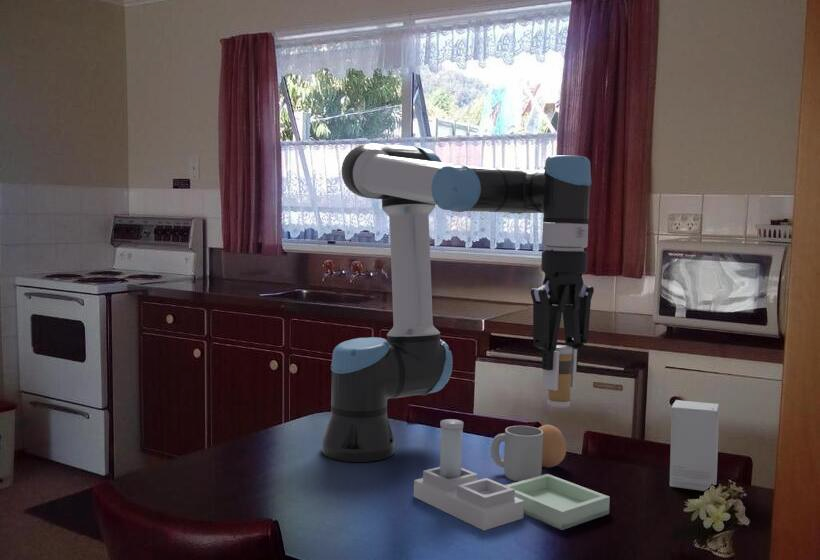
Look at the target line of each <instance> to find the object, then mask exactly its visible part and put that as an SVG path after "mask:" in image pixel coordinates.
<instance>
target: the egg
mask: <svg viewBox="0 0 820 560" xmlns="http://www.w3.org/2000/svg"><path fill="white" fill-rule="evenodd" d="M537 428H538V429H541V430H542V431H543V447H542V467H543V468H547V469H549V468H553V467H556V466H558V465H559V464H560V463H561V462H563V460H564V459H565V457H566V453H567V443H566V439H565V437H564V435H563V433H562V431H561V430H560V429H559V428H557V427H556V426H554V425H551V424H543V425H541V426H539V427H537Z"/></svg>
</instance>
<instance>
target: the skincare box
mask: <svg viewBox="0 0 820 560" xmlns="http://www.w3.org/2000/svg"><path fill="white" fill-rule="evenodd" d="M719 407H720V404H719V403H715V402H714V403H711V402H700V401H690V400H689V401H688V400H680V399H675V401H674V402H673V404H672V406H671V413H670V414H671V416H670V417H671V418H670V419H671V420H670V451H669V453H670V454H669V455H670V456H669V457H670V458H669V462H670V463H669V487H672V488H679V489H686V490H692V491H694V490H695V491H700V492H706V491H705V490H706V489H708V488H709V486H710V485H711V484H713V485H716V486H717V481H718V454H719V451H718V450H719V420H720V419H719V418H720V415H719V414H720V408H719Z"/></svg>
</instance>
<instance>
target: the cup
mask: <svg viewBox="0 0 820 560" xmlns="http://www.w3.org/2000/svg"><path fill="white" fill-rule="evenodd" d="M538 428H539V427H534V426H529V425H513V426H507V427H506V428H505V429H504V430H505V431H504V432H503V433H498V434H497V435H495V436H494V437H493V439H492V441H491V444H490V455H491V458H492V461H493V463H495V465H496V466H498V467H500V468H503V474H504V477H506V478H507V479H508V480H510V481H515V482H519V481H523V480H526V479H530V478H534V477H537V476H541V475H542V469H543V468H542V447H543V431H542V430H541V429H538ZM502 442H504V454H503V455H504V457H503V458H501V456H500V445H501V443H502Z"/></svg>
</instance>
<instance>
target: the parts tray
mask: <svg viewBox="0 0 820 560" xmlns="http://www.w3.org/2000/svg"><path fill="white" fill-rule="evenodd" d="M504 485H505V486H508V487H510V488H513V489H515V497H517V498H519V499H521V500H524V513H523V515H525V516H529V517H530V518H533V519H535V520H537V521H539V522H542V523H544V524H547V525H549V526H551V527H553V528H556V529H558V530H560V531H564V530H565V529H569V528H572V527H575V526H578V525H581V524H584V523H587V522H590V521H592V520H595V519H598V518H602V517H604V516H607V515H609V514H610V503H611V502H610V501H611V500H610V499H611V497H610V496H609V495H606V494H604V493H600V492H598V491H595V490H592V489H590V488H588V487H584V486H581V485H579V484H576V483H574V482H571V481H568V480H565V479H563V478H560V477H558V476H554V475H552V474H549V473H545V474H541V476H537V477H534V478H530V479H526V480H523V481H515V482H512V483H509V484H504Z"/></svg>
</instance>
